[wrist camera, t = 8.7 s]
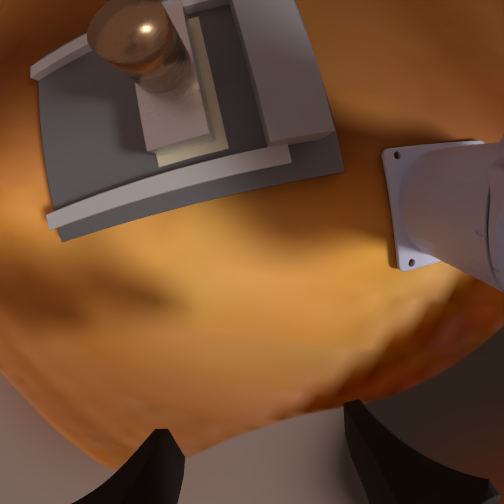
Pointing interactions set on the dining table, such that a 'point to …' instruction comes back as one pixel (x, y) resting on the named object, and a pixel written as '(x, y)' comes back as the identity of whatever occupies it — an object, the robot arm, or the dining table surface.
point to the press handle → (157, 69)
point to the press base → (221, 110)
